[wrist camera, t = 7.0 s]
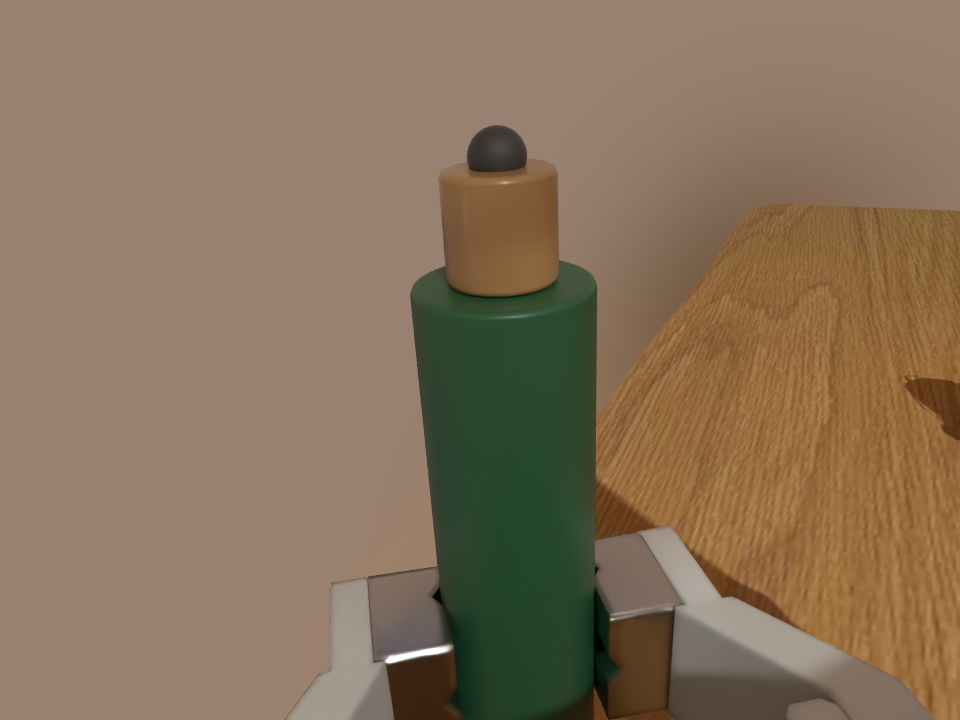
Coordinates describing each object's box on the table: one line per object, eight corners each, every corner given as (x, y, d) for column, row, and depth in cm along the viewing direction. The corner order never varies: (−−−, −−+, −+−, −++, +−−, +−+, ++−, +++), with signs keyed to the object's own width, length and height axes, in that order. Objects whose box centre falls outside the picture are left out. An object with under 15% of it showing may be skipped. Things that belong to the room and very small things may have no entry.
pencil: (489, 1055, 12) (400, 147, 6) (471, 924, 14) (389, 122, 8) (606, 1028, 12) (627, 128, 6) (574, 902, 14) (567, 108, 8)
